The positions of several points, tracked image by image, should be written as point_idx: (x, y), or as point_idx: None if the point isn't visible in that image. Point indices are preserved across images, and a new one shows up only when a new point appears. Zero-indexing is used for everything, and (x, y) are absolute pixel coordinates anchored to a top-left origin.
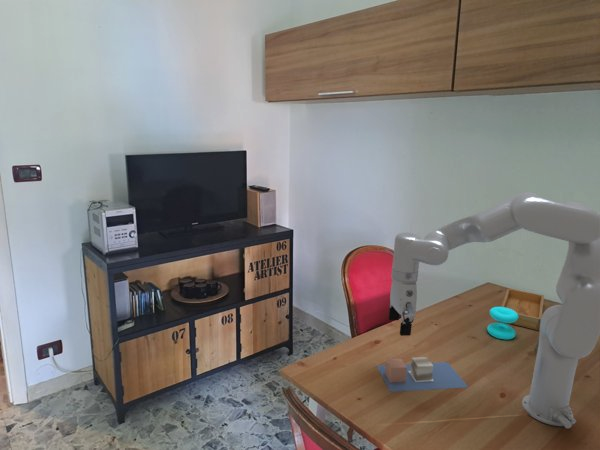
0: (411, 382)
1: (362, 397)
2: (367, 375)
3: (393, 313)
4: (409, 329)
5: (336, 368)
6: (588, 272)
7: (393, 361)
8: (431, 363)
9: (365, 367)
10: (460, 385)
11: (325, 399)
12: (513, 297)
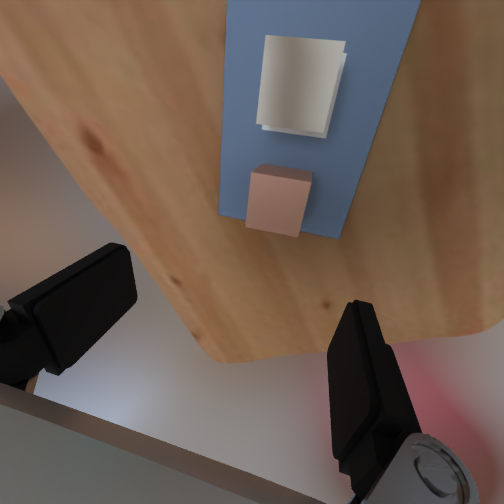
0: (322, 153)
1: (325, 297)
2: (250, 249)
3: (92, 319)
4: (400, 377)
5: (213, 294)
6: None
7: (263, 210)
8: (323, 40)
9: (217, 238)
10: None
11: (305, 351)
12: None
